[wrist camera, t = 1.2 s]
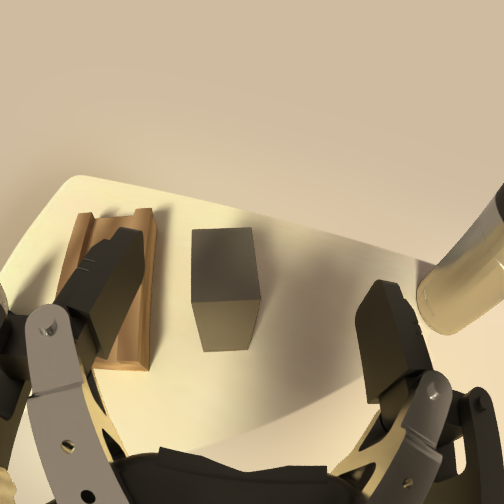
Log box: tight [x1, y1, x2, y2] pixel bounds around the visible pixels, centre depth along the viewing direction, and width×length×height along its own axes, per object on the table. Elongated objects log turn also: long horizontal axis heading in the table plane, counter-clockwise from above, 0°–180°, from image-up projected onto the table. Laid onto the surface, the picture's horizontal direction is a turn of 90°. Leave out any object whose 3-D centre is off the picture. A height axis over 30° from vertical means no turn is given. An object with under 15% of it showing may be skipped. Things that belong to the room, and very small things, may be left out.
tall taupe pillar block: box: [191, 228, 261, 352], centre depth 25 cm, size 5×6×12 cm
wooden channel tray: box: [55, 208, 157, 371], centre depth 29 cm, size 10×18×4 cm, turn 6°
